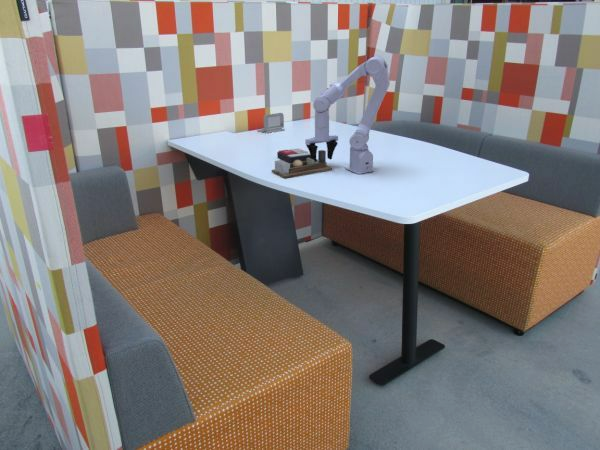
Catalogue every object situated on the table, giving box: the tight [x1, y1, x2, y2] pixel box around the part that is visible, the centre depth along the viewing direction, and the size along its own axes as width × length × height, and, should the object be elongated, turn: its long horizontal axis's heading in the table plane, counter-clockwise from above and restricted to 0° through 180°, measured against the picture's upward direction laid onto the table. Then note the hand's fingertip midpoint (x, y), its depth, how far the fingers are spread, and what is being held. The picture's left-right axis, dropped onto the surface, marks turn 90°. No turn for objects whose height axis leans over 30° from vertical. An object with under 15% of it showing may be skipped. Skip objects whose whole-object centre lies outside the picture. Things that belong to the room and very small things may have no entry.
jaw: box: [307, 149, 328, 166], centre depth 206 cm, size 4×8×6 cm, turn 120°
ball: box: [293, 160, 303, 167], centre depth 202 cm, size 4×4×4 cm
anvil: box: [274, 159, 290, 175], centre depth 198 cm, size 7×3×4 cm, turn 30°
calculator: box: [276, 148, 312, 164], centre depth 220 cm, size 11×4×15 cm
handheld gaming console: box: [256, 112, 285, 135], centre depth 280 cm, size 13×9×10 cm
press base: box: [271, 158, 333, 180], centre depth 203 cm, size 11×22×3 cm, turn 120°
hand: (321, 160), depth 207 cm, fingers open, 7 cm apart
